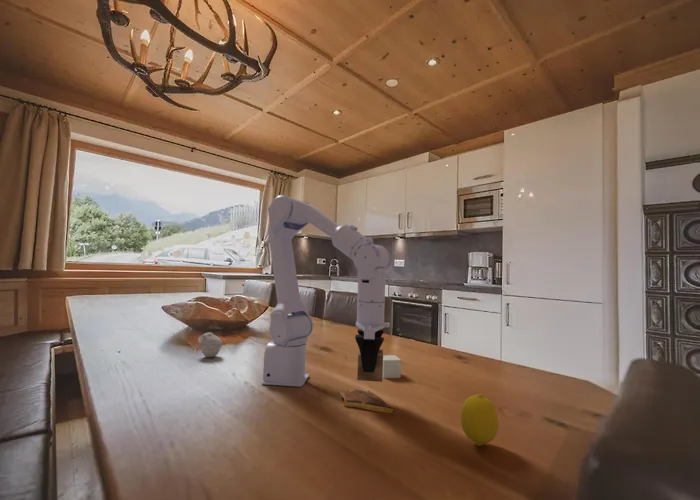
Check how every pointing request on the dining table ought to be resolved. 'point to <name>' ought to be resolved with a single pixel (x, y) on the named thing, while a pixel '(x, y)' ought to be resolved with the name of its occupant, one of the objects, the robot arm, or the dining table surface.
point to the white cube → (391, 366)
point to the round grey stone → (210, 344)
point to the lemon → (479, 419)
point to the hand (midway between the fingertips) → (369, 367)
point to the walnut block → (371, 376)
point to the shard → (365, 400)
